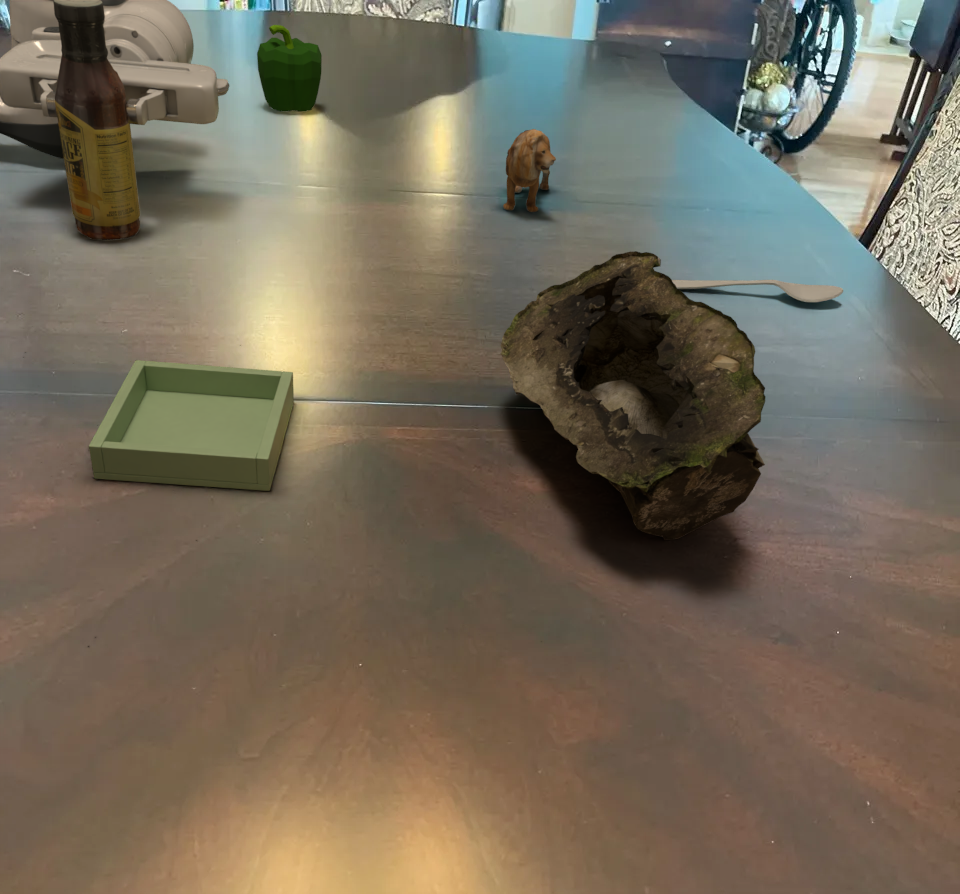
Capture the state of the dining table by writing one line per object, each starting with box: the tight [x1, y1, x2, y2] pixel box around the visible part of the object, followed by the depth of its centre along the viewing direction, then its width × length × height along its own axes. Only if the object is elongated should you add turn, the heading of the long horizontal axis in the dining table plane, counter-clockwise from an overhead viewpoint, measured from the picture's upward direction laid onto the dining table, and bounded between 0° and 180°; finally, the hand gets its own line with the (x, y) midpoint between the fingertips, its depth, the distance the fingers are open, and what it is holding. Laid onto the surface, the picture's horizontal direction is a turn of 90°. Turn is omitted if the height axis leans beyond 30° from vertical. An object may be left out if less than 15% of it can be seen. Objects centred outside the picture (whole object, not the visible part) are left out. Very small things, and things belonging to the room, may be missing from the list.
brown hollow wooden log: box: [500, 250, 766, 541], centre depth 73 cm, size 28×13×15 cm
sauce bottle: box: [53, 0, 141, 241], centre depth 96 cm, size 6×6×20 cm
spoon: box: [671, 279, 844, 303], centre depth 104 cm, size 4×21×2 cm, turn 88°
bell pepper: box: [256, 24, 323, 113], centre depth 138 cm, size 8×8×10 cm
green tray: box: [88, 359, 295, 492], centre depth 74 cm, size 12×13×2 cm
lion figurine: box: [502, 128, 557, 213], centre depth 118 cm, size 15×5×9 cm, turn 176°
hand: (91, 111), depth 95 cm, fingers closed on sauce bottle, 6 cm apart
